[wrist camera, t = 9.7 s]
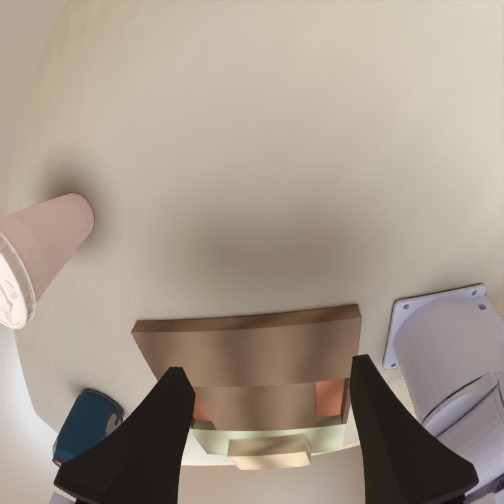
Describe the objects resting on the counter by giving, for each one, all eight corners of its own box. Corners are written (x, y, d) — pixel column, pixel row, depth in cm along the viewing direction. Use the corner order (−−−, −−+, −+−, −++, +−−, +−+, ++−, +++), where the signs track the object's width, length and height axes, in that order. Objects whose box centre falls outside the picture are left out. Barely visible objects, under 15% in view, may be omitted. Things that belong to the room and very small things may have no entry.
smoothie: (65, 158, 17) (-96, 242, 4) (123, 213, 19) (-20, 355, 6) (38, 218, 19) (-80, 314, 7) (88, 268, 21) (-15, 395, 9)
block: (304, 433, 28) (305, 451, 25) (310, 448, 30) (311, 464, 27) (229, 439, 29) (226, 456, 27) (242, 454, 31) (240, 469, 29)
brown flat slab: (357, 304, 21) (361, 317, 19) (339, 440, 31) (340, 449, 30) (137, 320, 23) (130, 332, 22) (209, 445, 34) (207, 453, 32)
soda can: (74, 392, 32) (42, 456, 21) (93, 382, 29) (56, 458, 19) (111, 419, 34) (86, 483, 23) (134, 413, 31) (107, 488, 21)
